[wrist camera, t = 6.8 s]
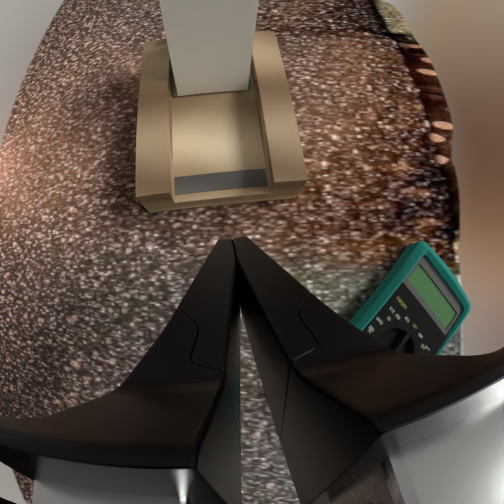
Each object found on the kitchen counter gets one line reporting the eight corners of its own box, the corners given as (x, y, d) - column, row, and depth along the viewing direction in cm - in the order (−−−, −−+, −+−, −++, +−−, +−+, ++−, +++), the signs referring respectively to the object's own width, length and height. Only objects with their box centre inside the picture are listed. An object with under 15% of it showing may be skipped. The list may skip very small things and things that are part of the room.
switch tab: (247, 89, 20) (262, -25, 10) (178, 96, 20) (156, -17, 10) (241, 53, 21) (252, -52, 11) (178, 58, 20) (162, -46, 10)
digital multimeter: (272, 389, 20) (279, 403, 17) (407, 241, 22) (428, 234, 19) (338, 446, 19) (352, 463, 17) (456, 305, 22) (479, 304, 19)
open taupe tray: (295, 198, 21) (312, 173, 17) (149, 212, 20) (130, 191, 16) (268, 59, 23) (276, 22, 19) (151, 69, 22) (142, 33, 18)
